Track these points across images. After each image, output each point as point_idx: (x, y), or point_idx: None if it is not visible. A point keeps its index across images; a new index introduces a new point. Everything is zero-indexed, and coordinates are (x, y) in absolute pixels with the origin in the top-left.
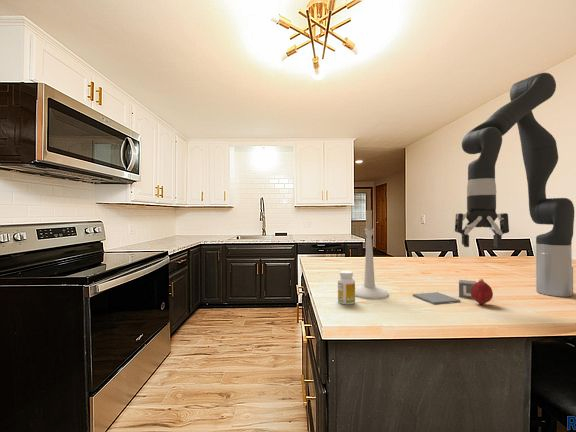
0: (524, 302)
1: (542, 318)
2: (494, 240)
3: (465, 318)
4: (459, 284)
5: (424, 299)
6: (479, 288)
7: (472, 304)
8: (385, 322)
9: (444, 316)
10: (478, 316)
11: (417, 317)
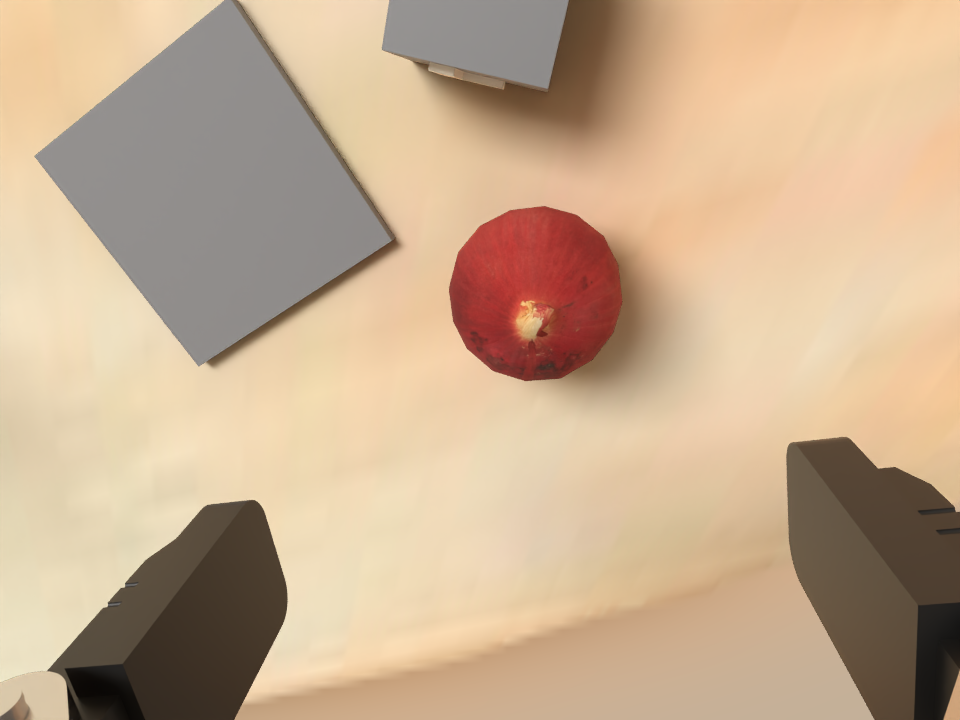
0: (936, 81)
1: None
2: (842, 553)
3: (366, 584)
4: (391, 52)
5: (137, 285)
6: (499, 371)
7: None
8: None
9: None
10: (443, 536)
11: None
